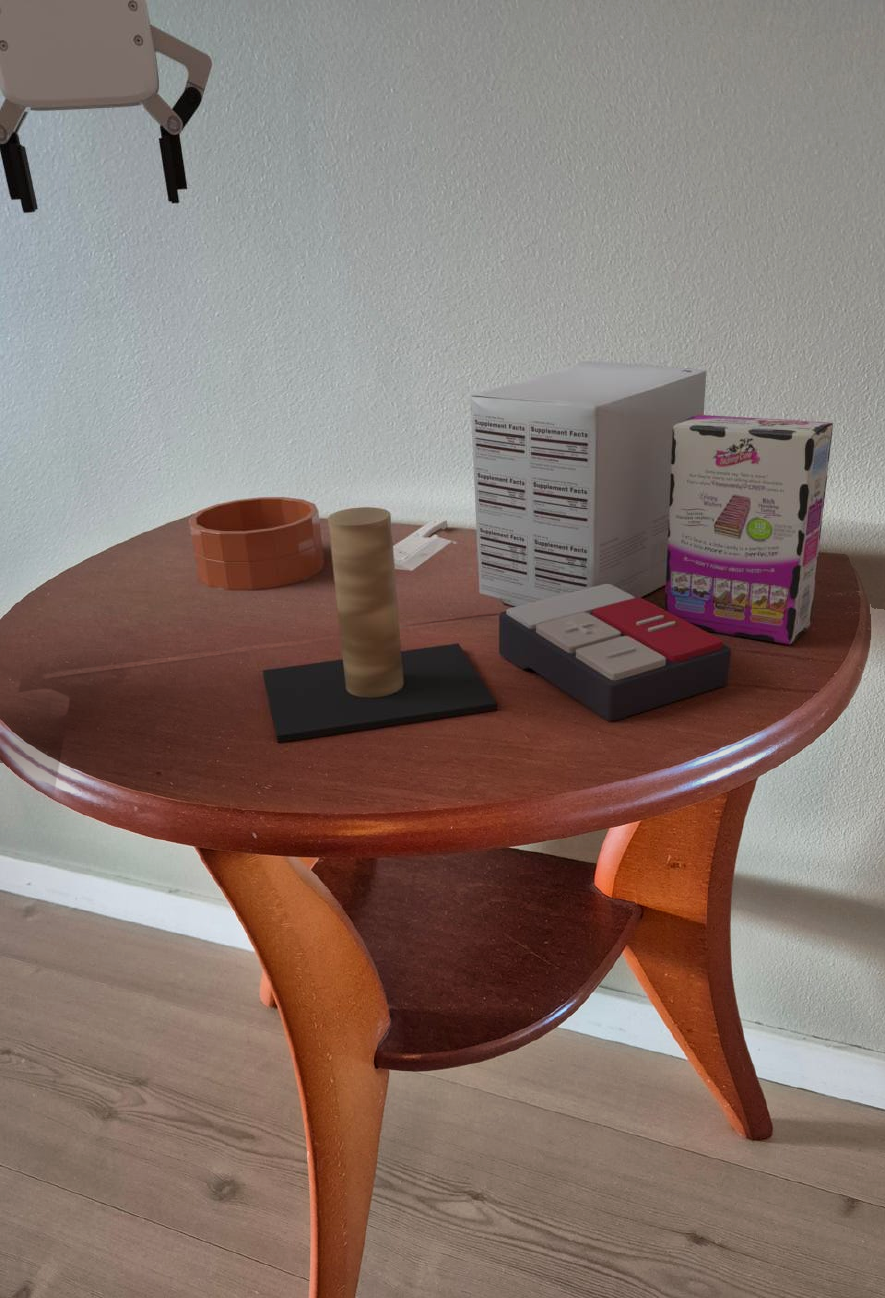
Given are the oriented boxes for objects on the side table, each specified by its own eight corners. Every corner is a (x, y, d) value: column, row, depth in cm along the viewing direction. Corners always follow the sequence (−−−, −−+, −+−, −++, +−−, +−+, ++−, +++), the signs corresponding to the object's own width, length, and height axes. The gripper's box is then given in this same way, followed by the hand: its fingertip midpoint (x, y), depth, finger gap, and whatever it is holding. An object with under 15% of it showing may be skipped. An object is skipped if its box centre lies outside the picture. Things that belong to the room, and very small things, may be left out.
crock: (201, 601, 103) (190, 539, 100) (197, 562, 113) (187, 505, 110) (331, 585, 105) (325, 523, 102) (315, 548, 115) (309, 491, 112)
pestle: (350, 701, 80) (332, 527, 74) (341, 678, 84) (323, 511, 77) (408, 693, 81) (395, 520, 74) (397, 670, 85) (384, 504, 78)
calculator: (612, 675, 74) (496, 603, 85) (609, 731, 76) (496, 653, 88) (735, 639, 78) (610, 574, 90) (728, 692, 81) (607, 623, 92)
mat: (277, 743, 76) (276, 735, 76) (263, 676, 86) (262, 669, 86) (497, 710, 79) (497, 702, 79) (458, 649, 89) (458, 642, 89)
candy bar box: (812, 626, 89) (837, 420, 81) (791, 647, 86) (815, 434, 78) (685, 605, 95) (697, 410, 87) (660, 624, 92) (670, 423, 83)
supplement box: (582, 548, 110) (583, 359, 101) (698, 570, 103) (711, 368, 94) (472, 598, 99) (464, 391, 91) (593, 627, 92) (597, 404, 83)
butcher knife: (475, 530, 117) (475, 520, 117) (415, 575, 106) (414, 564, 105) (433, 526, 119) (432, 516, 119) (369, 570, 108) (368, 559, 107)
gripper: (187, -99, 71) (226, 198, 79) (-93, -94, 68) (-21, 214, 77) (190, -127, 65) (232, 200, 73) (-119, -122, 62) (-37, 217, 70)
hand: (103, 207), depth 75 cm, fingers open, 9 cm apart
